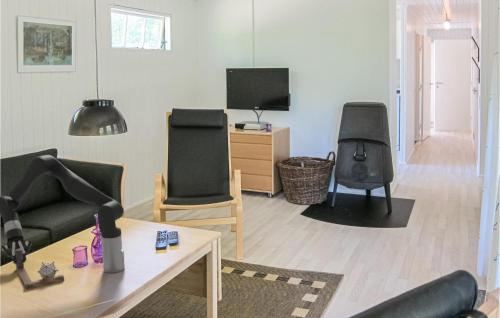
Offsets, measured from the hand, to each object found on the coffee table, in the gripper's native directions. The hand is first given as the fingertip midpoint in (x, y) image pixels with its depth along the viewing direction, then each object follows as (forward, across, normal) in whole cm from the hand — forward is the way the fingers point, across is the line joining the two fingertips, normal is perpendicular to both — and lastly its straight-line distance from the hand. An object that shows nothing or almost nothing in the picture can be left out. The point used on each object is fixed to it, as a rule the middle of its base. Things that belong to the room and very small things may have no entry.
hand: (20, 262), depth 233 cm
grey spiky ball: (+15, +9, -8) cm, 20 cm away
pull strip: (+10, +6, -4) cm, 12 cm away
